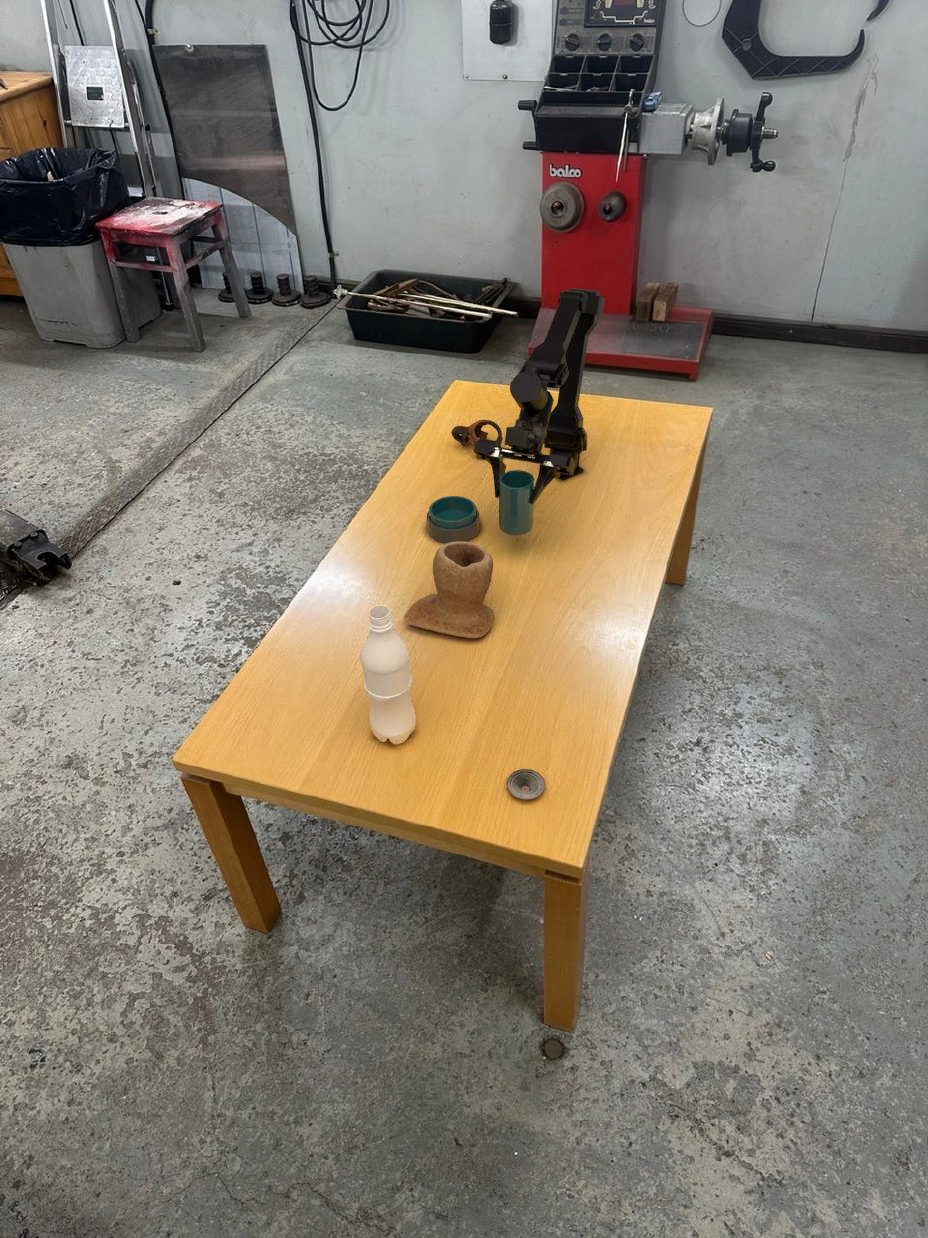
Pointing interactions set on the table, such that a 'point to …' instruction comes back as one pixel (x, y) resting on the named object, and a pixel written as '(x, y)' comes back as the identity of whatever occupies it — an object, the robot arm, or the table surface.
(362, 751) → the table surface
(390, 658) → the water bottle
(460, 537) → the stack base cup
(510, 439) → the robot arm
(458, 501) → the stack top cup
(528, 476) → the teal cup
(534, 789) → the dark grey round dish
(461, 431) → the brown ring piece
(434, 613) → the stone cup
